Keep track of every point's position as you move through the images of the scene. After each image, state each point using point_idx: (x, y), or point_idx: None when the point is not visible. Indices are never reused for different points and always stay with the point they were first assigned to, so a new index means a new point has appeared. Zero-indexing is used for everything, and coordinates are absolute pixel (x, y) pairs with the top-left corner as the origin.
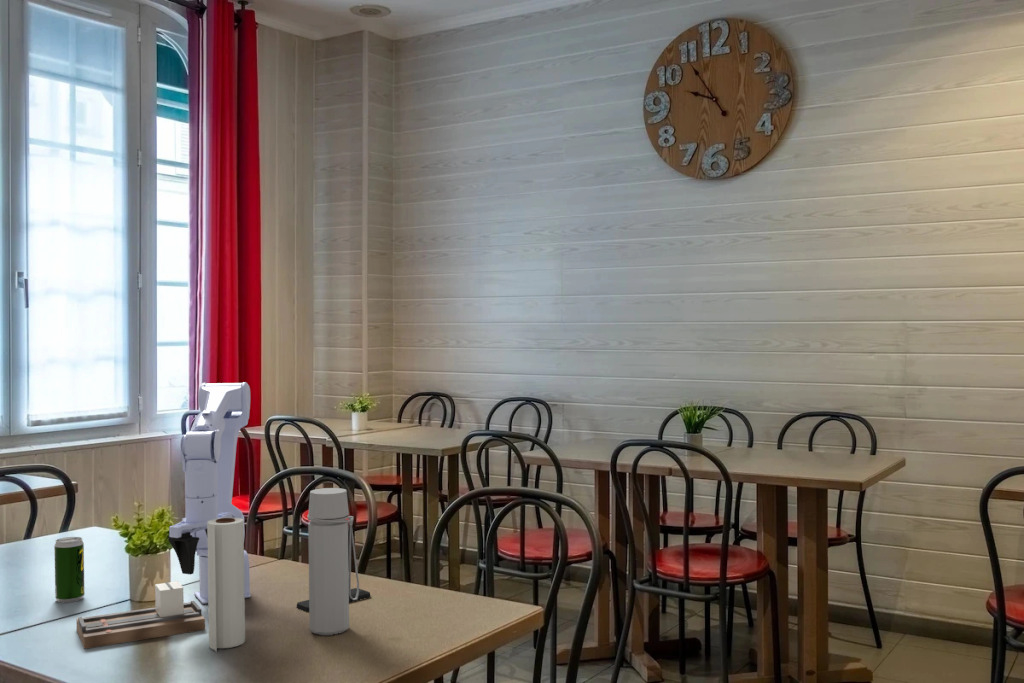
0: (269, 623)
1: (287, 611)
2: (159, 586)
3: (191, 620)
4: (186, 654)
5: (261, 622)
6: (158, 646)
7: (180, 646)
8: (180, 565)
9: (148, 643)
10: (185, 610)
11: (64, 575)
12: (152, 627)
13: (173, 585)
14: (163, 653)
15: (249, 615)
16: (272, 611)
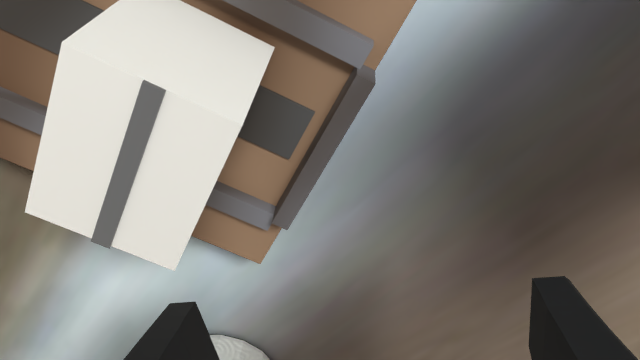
0: (458, 350)
1: (626, 319)
2: (62, 126)
3: (206, 238)
4: (81, 342)
5: (455, 326)
6: (39, 230)
7: (101, 285)
8: (132, 352)
9: (21, 178)
10: (278, 108)
11: None
12: (34, 167)
13: (153, 188)
14: (27, 289)
15: (515, 242)
16: (606, 278)
